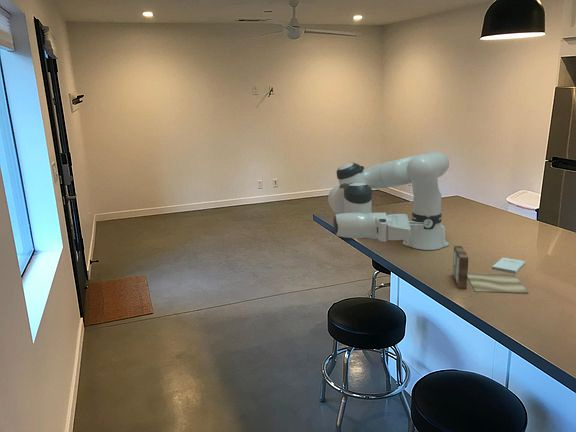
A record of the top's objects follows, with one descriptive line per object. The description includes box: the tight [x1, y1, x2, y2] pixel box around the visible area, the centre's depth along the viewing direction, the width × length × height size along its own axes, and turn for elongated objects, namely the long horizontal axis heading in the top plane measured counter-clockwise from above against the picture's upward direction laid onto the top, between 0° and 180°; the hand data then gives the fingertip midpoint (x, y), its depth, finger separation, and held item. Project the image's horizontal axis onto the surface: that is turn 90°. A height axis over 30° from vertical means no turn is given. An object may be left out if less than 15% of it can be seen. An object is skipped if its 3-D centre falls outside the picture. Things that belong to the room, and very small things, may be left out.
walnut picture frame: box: [452, 245, 469, 290], centre depth 158 cm, size 12×3×11 cm, turn 170°
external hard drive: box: [491, 257, 526, 275], centre depth 172 cm, size 2×8×12 cm
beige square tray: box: [467, 272, 529, 295], centre depth 157 cm, size 16×16×1 cm
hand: (423, 226), depth 156 cm, fingers closed
